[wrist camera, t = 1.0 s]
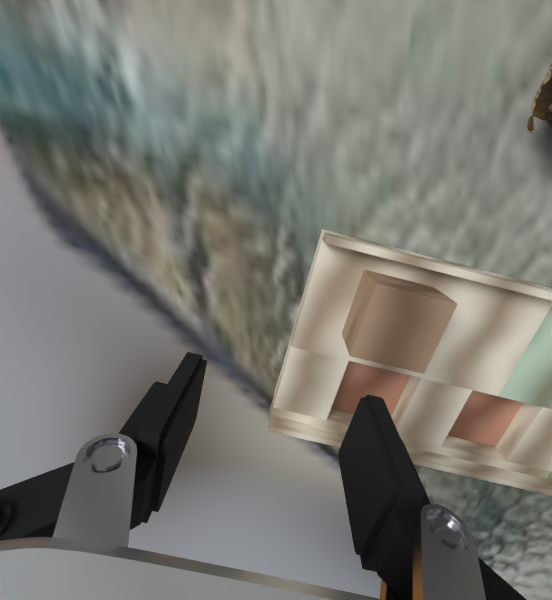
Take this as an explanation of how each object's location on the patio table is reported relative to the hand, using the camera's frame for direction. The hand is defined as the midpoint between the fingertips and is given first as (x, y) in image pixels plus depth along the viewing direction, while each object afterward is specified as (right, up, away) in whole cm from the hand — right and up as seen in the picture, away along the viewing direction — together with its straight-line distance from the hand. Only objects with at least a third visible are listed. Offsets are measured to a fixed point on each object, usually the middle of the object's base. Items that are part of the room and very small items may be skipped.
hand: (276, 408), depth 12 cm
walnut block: (+9, +3, +15) cm, 18 cm away
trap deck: (+16, -2, +19) cm, 25 cm away
